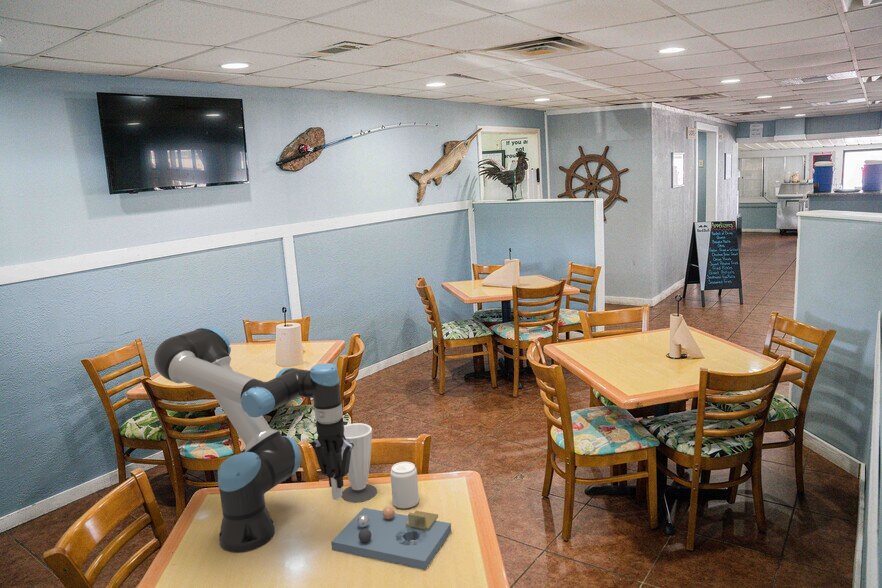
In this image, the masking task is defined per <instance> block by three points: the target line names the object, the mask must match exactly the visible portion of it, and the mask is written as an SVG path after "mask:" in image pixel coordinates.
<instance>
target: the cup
mask: <svg viewBox="0 0 882 588" xmlns="http://www.w3.org/2000/svg"><path fill="white" fill-rule="evenodd" d="M372 434H373V428H372V426H370V425H369V424H367V423H360V422H359V423H358V422H355V423H349V424H344V436H345V438H346V441H347V442H348V443H353V444H354V447H353V448H352V450H351V457H350V465H349V472H348V473H347V474H346V476H347V478H348V481H349V485H350V486H348V487H346V488H345V489H344V490H342V496H341V497H342V499H343V500H344V501H346V502H347V503H348V502H349V503H354V504H355V503H363V502H366V501H369V500H371V499H372V498H373V499H374V498H375V496H376V495H377V493H378V488H377V487H375V485H373V484H370V483H368V479H369V473H370V467H371V458H372V457H371V456H372V439H373V437H372V436H373V435H372ZM343 447H344V446H342V452H341V456H342V458H343V452H344V450H343Z"/></svg>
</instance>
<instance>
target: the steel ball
mask: <svg viewBox="0 0 882 588" xmlns="http://www.w3.org/2000/svg"><path fill="white" fill-rule="evenodd" d="M368 524H369V518H368V516H366V515H360V516H359V517H358V518H357V525H358V526H359V527H361V528H365V527H366V526H368Z"/></svg>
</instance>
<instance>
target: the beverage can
mask: <svg viewBox="0 0 882 588" xmlns="http://www.w3.org/2000/svg"><path fill="white" fill-rule="evenodd" d="M418 482H419V481H418V469H417V467H416V466H415V463H413V462H410V461H400V462H397V463H394V464H393V465H392V466H391V470H390V487H391V497H392V504H393V506H395V507H396V508H398V509H410V508H413V507H414V506H416V505H418V503H419V501H420V499H419V485H418V484H419V483H418Z"/></svg>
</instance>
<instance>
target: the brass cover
mask: <svg viewBox="0 0 882 588" xmlns="http://www.w3.org/2000/svg"><path fill="white" fill-rule="evenodd" d="M407 515H408V521H407V522H406V526H408V527H413V528H419V529H424V530H429V529H430V528H431V526H432V525H433V524H434V522H435V521H437V519H439V514H438V513H433V512H432V513H431V512H428V511H421V510H415V511H414V512H409V513H408V514H407Z"/></svg>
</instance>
